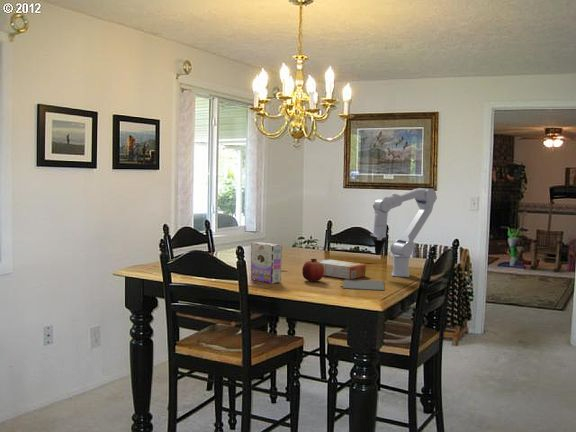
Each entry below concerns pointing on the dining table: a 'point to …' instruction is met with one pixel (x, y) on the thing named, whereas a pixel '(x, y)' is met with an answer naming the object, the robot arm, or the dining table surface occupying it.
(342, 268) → the cracker box
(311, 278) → the fruit
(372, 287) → the mat
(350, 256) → the dining table surface
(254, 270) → the candy box
